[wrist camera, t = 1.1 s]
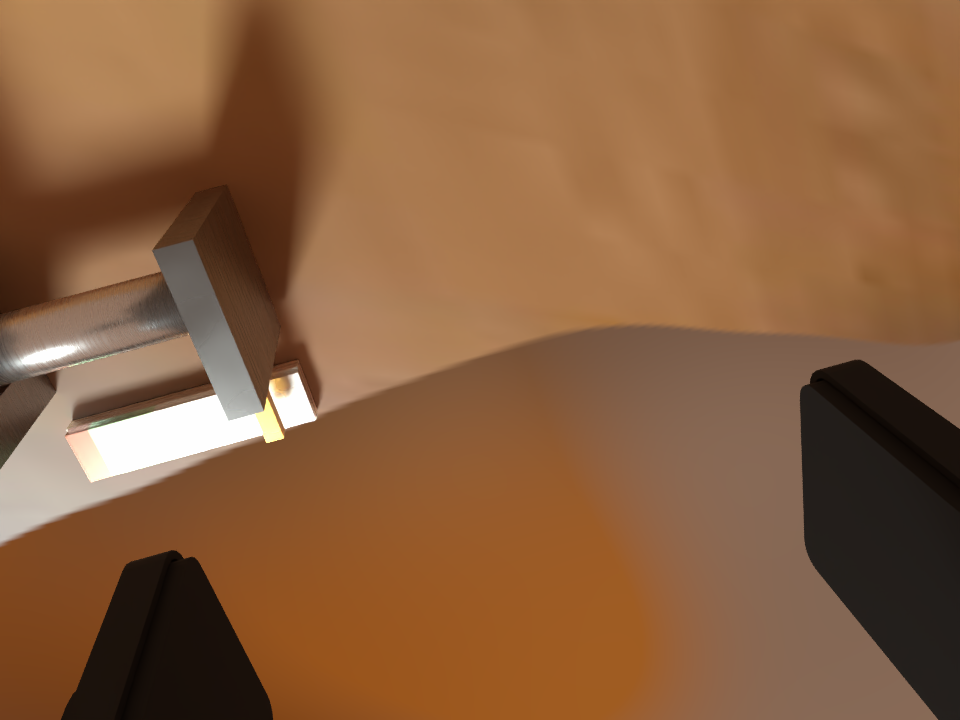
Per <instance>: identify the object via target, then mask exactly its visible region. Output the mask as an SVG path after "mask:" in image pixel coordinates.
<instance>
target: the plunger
mask: <svg viewBox="0 0 960 720" xmlns="http://www.w3.org/2000/svg"><path fill="white" fill-rule="evenodd" d="M152 251H153V253H154V256H155V258H156V260H157V262H158V265H159V267H160V269H161V272H158V273H154V274H150V275H146V276H142V277H139V278H135V279H131V280H127V281H124V282H120V283H116V284H112V285H109V286H105V287H101V288H97V289H94V290H90V291H86V292H82V293H79V294H75V295H71V296H67V297H63V298H60V299H56V300H52V301H48V302H45V303H41V304H37V305H33V306H30V307H26V308H22V309H18V310H15V311H11V312H7V313H3V314H0V386H2V385H5V384H9V383H13V382H16V381H20V380H24V379H27V378H31V377H35V376H39V375H42V374H46V373H50V372H53V371H57V370H61V369H65V368H68V367H72V366H76V365H79V364H83V363H87V362H91V361H94V360H98V359H102V358H105V357H109V356H113V355H116V354H120V353H124V352H128V351H131V350H135V349H139V348H142V347H146V346H150V345H154V344H157V343H161V342H165V341H168V340H172V339H176V338H180V337H183V336H187V335H190V337H191V339H192V341H193V343H194V346H195V348H196V350H197V352H198V355H199V357H200V359H201V361H202V364H203V366H204V368H205V371H206V373H207V375H208V377H209V380H210V382H211V384H212V386H213V389H214V391H215V393H216V395H217V398H218V400H219V402H220V404H221V407H222V409H223V411H224V413H225V416H226V418H227V420H228V422H229V421H232V420H236V419H240V418H243V417H247V416H250V415H254V414H255V416H256V419H257V421H258V423H259V426H260V428H261V430H262V433H263V435H264V438H265V440H266V442H267V443H268V442H271V441H275V440H279V439H282V438H284V433H285V428H284V425H283V423H282V420H281V418H280V415H279V413H278V410H277V408H276V405H275V403H274V401H273V398H272V396H271V393H270V391H269V384H270V379H271V374H272V369H273V364H274V358H275V353H276V348H277V343H278V338H279V333H280V328H281V325H280V323H279V320H278V318H277V315H276V312H275V310H274V307H273V304H272V302H271V299H270V297H269V294H268V291H267V289H266V286H265V283H264V281H263V278H262V276H261V273H260V270H259V268H258V265H257V262H256V260H255V257H254V254H253V252H252V249H251V247H250V244H249V241H248V239H247V236H246V233H245V231H244V228H243V226H242V223H241V220H240V218H239V215H238V212H237V210H236V207H235V205H234V202H233V199H232V197H231V194H230V191H229V189H228V186H227V185H223V186H219V187H216V188H212V189H208V190H204V191H200V192H197V193H195V194H194V195H193V197H192V198H191V199H190V201H189V202H188V203H187V205H186V206H185V207H184V209H183V210H182V211H181V213H180V214H179V215H178V217H177V218H176V219H175V221H174V222H173V223H172V225H171V226H170V227H169V229H168V230H167V231H166V233H165V234H164V235H163V237H162V238H161V239H160V241H159V242H158V243H157V245H156V246H155V247H154V249H153V250H152Z"/></svg>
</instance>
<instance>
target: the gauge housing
mask: <svg viewBox="0 0 960 720" xmlns="http://www.w3.org/2000/svg"><path fill="white" fill-rule="evenodd" d="M269 391H270V393H271V396H272V398H273V401H274V403H275V405H276V408H277V410H278V413H279V415H280V418H281V420H282V423H283V425H284V428H288V427H292V426H295V425H299V424H302V423H306V422H310V421H313V420H316V418H317V408H316V405H315V402H314V400H313V397H312V394H311V392H310V389H309V386H308V384H307V381H306V378H305V376H304V373H303V370H302V368H301V365H300V362H299V360H298V359H297V360H294V361H290V362H286V363H283V364H279V365H275V366H273V369H272V374H271V379H270V384H269ZM55 393H56V392H55V390H54V388H53V386H52V385H51V383H50V381H49V379H48V377H47V376H46V374H42V375H39V376H35V377H31V378H27V379H24V380H20V381H16V382H13V383H9V384H5V385H2V386H0V469H1V468H2V466H3V465H4V464H5V462H6V461H7V459H8V458H9V457H10V455H11V454H12V452H13V451H14V450H15V448H16V447H17V446H18V444H19V443H20V441H21V440H22V439H23V437H24V436H25V435H26V433H27V432H28V430H29V429H30V428H31V426H32V425H33V424H34V422H35V421H36V419H37V418H38V417H39V415H40V414H41V413H42V411H43V410H44V408H45V407H46V406H47V404H48V403H49V402H50V400H51V399H52V397H53V396H54V395H55ZM66 430H67V434H66V435H65V438H66V439H67V441H68V443H69V445H70V446H71V448H72V450H73V452H74V453H75V455H76V457H77V459H78V460H79V462H80V464H81V466H82V468H83V469H84V471H85V473H86V475H87V476H88V478H89V480H90V482H93V481H96V480H100V479H103V478H107V477H111V476H114V475H118V474H122V473H125V472H129V471H132V470H136V469H140V468H143V467H147V466H151V465H154V464H158V463H161V462H165V461H169V460H172V459H176V458H179V457H183V456H187V455H190V454H194V453H198V452H201V451H205V450H208V449H212V448H216V447H219V446H223V445H227V444H230V443H234V442H237V441H241V440H245V439H248V438H252V437H255V436H259V435H263V433H262V430H261V428H260V426H259V423H258V421H257V419H256V416H255V414H254V415H250V416H247V417H243V418H240V419H236V420H232V421H229V422H228V420H227V418H226V416H225V413H224V411H223V409H222V407H221V404H220V402H219V400H218V398H217V395H216V393H215V391H214V389H213V386H212V384H211V383H209V384H206V385H202V386H198V387H195V388H191V389H187V390H184V391H180V392H176V393H173V394H169V395H165V396H162V397H158V398H154V399H151V400H147V401H143V402H140V403H136V404H132V405H129V406H125V407H121V408H118V409H114V410H110V411H107V412H103V413H99V414H96V415H92V416H88V417H85V418H81V419H77V420H74V421H71V423H70V425H69V426H68V428H67V429H66Z"/></svg>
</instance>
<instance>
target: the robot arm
mask: <svg viewBox="0 0 960 720" xmlns="http://www.w3.org/2000/svg"><path fill="white" fill-rule="evenodd" d="M800 413H801V445H802V474H803V504H804V505H803V508H804V539H805V546H806V550H807V553H808V556H809V558H810V560H811V562H812V563H813V566H814V567H815V569H816V570H817V571H818V572H819V574H820V575H821V576H822V577H823V579H824V580H825V581H826V582H827V583H828V585H829V586H830V587H831V588H832V590H833V591H834V592H835V593H836V594H837V596H838V597H839V598H840V599H841V601H842V602H843V603H844V604H845V605H846V607H847V608H848V609H849V610H850V612H851V613H852V614H853V615H854V617H855V618H856V619H857V620H858V621H859V623H860V624H861V625H862V626H863V628H864V629H865V630H866V631H867V633H868V634H869V635H870V636H871V637H872V639H873V640H874V641H875V642H876V644H877V645H878V646H879V647H880V648H881V649H882V651H883V652H884V653H885V655H886V656H887V657H888V658H889V660H890V661H891V662H892V663H893V664H894V666H895V667H896V668H897V669H898V671H899V672H900V673H901V674H902V676H903V677H904V678H905V679H906V680H907V682H908V683H909V684H910V685H911V687H912V688H913V689H914V690H915V691H916V693H917V694H918V695H919V696H920V698H921V699H922V700H923V701H924V703H925V704H926V705H927V706H928V707H929V709H930V710H931V711H932V712H933V714H934V715H935V716H936V717H937V719H938V720H960V429H959V428H957V427H956V426H955V425H953V424H952V423H950V422H949V421H948V420H946V419H945V418H943V417H942V416H941V415H939V414H938V413H936V412H935V411H934V410H932V409H931V408H929V407H928V406H926V405H925V404H924V403H922V402H921V401H920V400H918V399H917V398H915V397H914V396H912V395H911V394H910V393H908V392H907V391H905V390H904V389H903V388H901V387H900V386H898V385H897V384H896V383H894V382H893V381H891V380H890V379H889V378H887V377H886V376H884V375H883V374H882V373H880V372H879V371H877V370H876V369H874V368H873V367H872V366H870V365H869V364H867V363H866V362H864V361H861V360H853V361H849V362H846V363H842V364H839V365H835V366H832V367H828V368H824V369H820V370H817V371H815V372H814V373H813V374H812V376H811V379H810V384H808V385H805V386H803V387H802V389H801V392H800ZM61 720H273V714H272V709H271V704H270V700H269V698H268V695H267V693H266V692H265V690H264V688H263V686H262V684H261V682H260V680H259V678H258V676H257V674H256V672H255V670H254V668H253V666H252V664H251V662H250V660H249V658H248V656H247V655H246V653H245V651H244V649H243V647H242V645H241V643H240V641H239V639H238V637H237V635H236V633H235V631H234V629H233V628H232V625H231V623H230V622H229V619H228V617H227V616H226V614H225V612H224V610H223V608H222V606H221V604H220V602H219V600H218V598H217V596H216V594H215V592H214V590H213V588H212V586H211V585H210V583H209V580H208V579H207V577H206V575H205V573H204V571H203V569H202V567H201V565H200V563H199V562H198V560H196V559H195V558H194V557H189V558H186V559H184V558H183V557H182V555H181V554H180V553H178V552H177V551H174V550H171V551H168V552H164V553H161V554H157V555H153V556H150V557H147V558H143V559H139V560H136V561H132V562H130V563H128V564H126V566H125V568H124V570H123V571H122V574H121V576H120V579H119V582H118V584H117V587H116V589H115V592H114V595H113V597H112V600H111V602H110V605H109V607H108V610H107V613H106V615H105V618H104V620H103V623H102V626H101V628H100V631H99V633H98V636H97V638H96V641H95V644H94V646H93V649H92V651H91V654H90V656H89V659H88V662H87V664H86V667H85V669H84V672H83V675H82V677H81V680H80V682H79V685H78V687H77V690H76V692H74V693H73V695H72V697H71V698H70V700H69V702H68V704H67V706H66V708H65V711H64V714H63V716H62V718H61Z"/></svg>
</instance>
